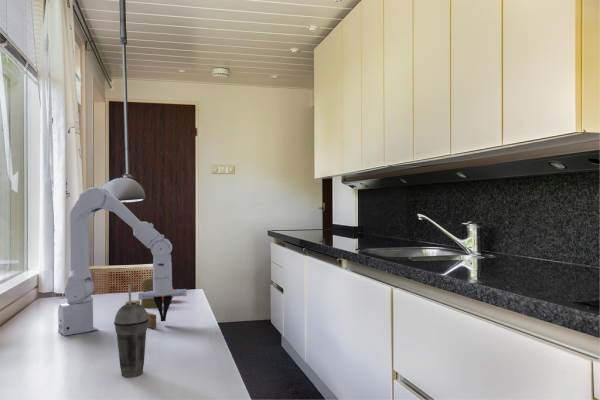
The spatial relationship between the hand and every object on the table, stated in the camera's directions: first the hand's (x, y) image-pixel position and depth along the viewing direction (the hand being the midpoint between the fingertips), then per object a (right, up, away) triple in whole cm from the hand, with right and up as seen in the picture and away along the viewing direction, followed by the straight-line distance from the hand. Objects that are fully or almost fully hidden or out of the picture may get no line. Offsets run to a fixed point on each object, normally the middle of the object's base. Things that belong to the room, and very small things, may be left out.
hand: (163, 320), depth 149 cm
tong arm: (-6, -1, +1) cm, 6 cm away
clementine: (-11, -3, +40) cm, 42 cm away
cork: (-14, -3, +31) cm, 34 cm away
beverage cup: (+6, -1, -44) cm, 44 cm away
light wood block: (-12, -2, +7) cm, 14 cm away
